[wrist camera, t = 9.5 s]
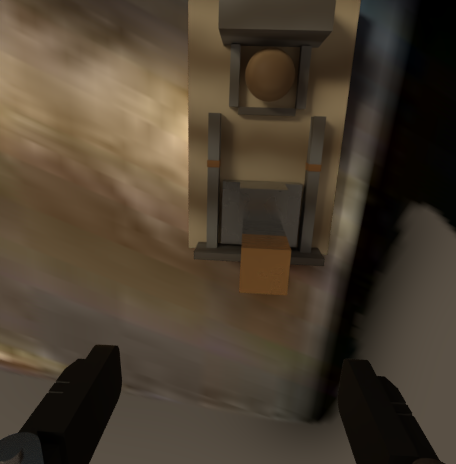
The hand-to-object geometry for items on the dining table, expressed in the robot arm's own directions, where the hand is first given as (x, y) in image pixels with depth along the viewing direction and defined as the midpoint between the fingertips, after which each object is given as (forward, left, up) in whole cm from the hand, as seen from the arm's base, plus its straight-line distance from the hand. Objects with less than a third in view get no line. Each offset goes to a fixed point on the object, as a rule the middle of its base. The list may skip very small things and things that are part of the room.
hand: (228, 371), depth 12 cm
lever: (-1, +2, -21) cm, 22 cm away
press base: (-7, +2, -24) cm, 25 cm away
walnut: (-12, +2, -22) cm, 25 cm away
